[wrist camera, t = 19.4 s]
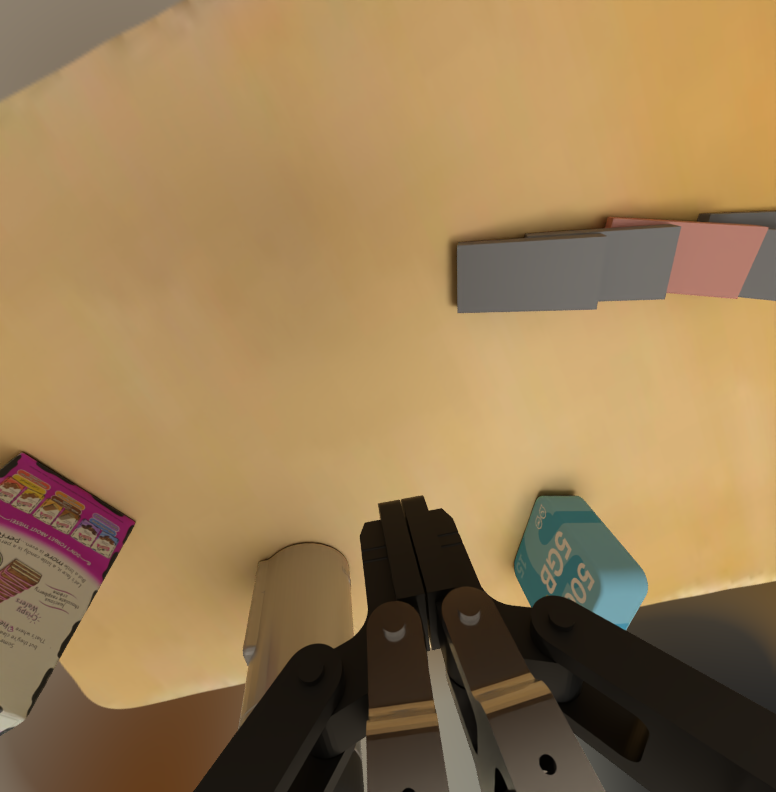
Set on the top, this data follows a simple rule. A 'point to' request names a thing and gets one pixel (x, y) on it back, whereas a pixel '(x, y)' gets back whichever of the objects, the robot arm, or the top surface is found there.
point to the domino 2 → (633, 260)
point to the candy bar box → (46, 574)
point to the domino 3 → (707, 255)
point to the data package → (578, 561)
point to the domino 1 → (530, 273)
